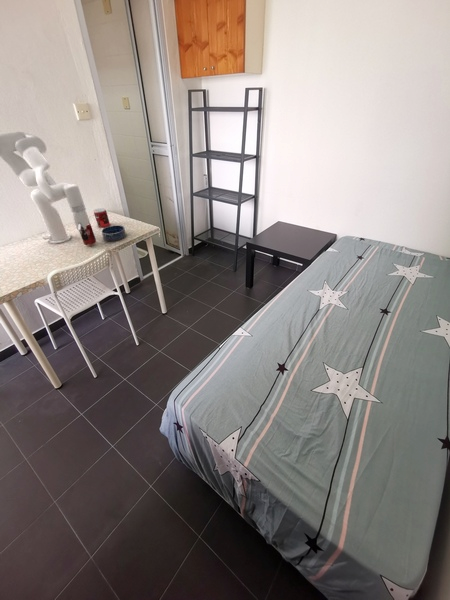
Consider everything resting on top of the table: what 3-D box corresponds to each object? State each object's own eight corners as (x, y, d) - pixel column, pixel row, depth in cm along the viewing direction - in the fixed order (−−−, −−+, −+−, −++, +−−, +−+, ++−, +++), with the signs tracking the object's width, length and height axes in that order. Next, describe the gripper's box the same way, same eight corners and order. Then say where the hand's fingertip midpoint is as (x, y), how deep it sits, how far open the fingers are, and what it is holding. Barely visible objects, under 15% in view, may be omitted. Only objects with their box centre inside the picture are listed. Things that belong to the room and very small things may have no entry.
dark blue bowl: (104, 243, 174) (102, 236, 171) (102, 235, 184) (100, 228, 181) (128, 238, 178) (126, 231, 175) (124, 231, 188) (122, 223, 185)
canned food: (98, 224, 199) (93, 209, 193) (110, 222, 201) (105, 207, 194) (97, 228, 193) (92, 212, 187) (110, 226, 195) (105, 211, 189)
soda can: (92, 246, 168) (85, 226, 161) (81, 245, 169) (74, 226, 162) (98, 240, 174) (92, 222, 167) (88, 240, 175) (81, 221, 168)
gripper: (76, 203, 166) (86, 232, 176) (65, 214, 152) (77, 244, 162) (89, 202, 166) (98, 231, 177) (79, 213, 152) (90, 243, 163)
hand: (88, 237), depth 169 cm, fingers closed on soda can, 7 cm apart
